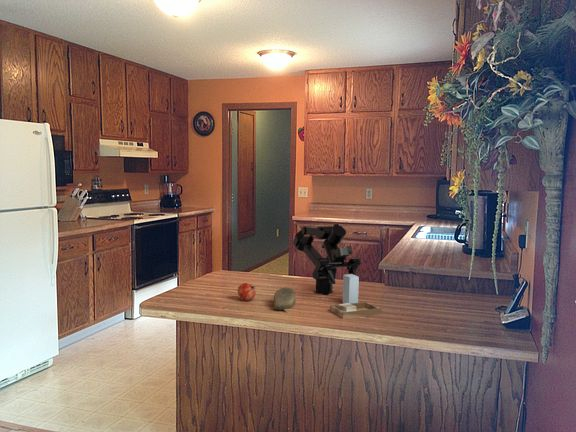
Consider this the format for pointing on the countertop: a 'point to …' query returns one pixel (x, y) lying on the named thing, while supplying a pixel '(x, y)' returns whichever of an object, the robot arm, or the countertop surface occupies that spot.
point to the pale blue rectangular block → (350, 288)
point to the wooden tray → (357, 310)
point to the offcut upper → (347, 307)
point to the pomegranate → (246, 292)
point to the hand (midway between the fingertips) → (345, 283)
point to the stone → (284, 299)
